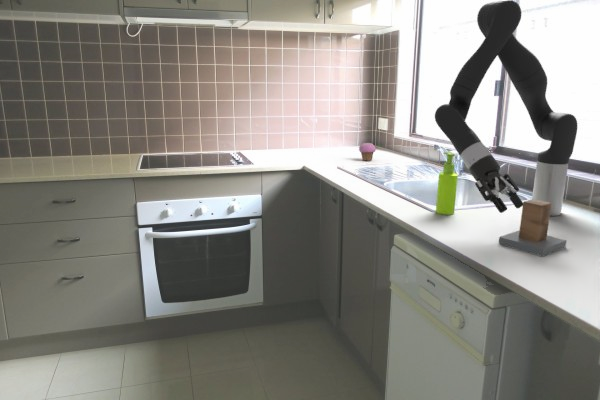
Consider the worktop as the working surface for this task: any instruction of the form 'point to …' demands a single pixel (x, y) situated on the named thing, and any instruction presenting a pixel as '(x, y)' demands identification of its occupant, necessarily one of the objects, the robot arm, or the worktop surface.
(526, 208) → the walnut block
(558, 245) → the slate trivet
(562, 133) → the robot arm
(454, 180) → the soap dispenser
